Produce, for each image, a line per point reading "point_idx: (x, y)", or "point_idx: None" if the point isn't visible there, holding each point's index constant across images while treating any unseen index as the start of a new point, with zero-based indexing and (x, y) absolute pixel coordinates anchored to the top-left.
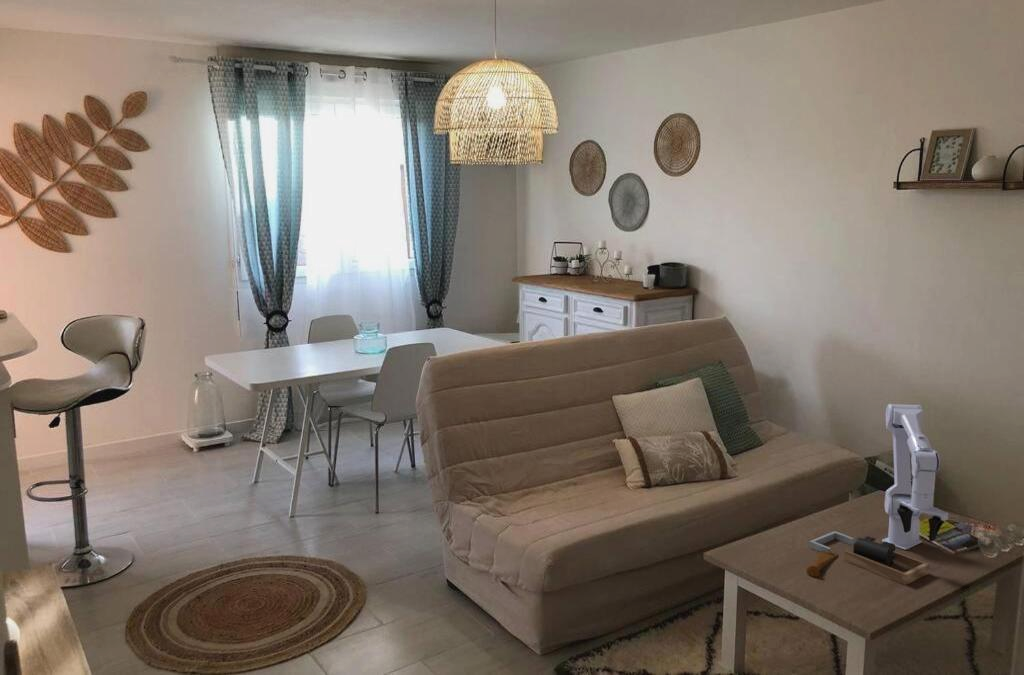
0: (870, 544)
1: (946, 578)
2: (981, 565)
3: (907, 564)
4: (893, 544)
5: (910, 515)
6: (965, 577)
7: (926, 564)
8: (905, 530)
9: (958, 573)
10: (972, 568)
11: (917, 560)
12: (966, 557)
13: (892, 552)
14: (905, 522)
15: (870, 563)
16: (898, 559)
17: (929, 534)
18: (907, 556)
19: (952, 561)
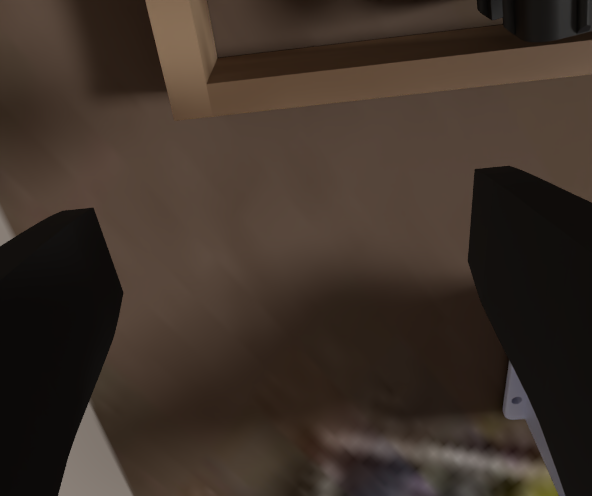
0: None
1: (76, 136)
2: (145, 426)
3: (358, 47)
4: (553, 27)
5: (586, 476)
6: None
7: (176, 85)
8: (496, 174)
9: None
10: (134, 371)
11: (276, 87)
12: (249, 440)
13: (532, 44)
14: (565, 248)
15: None
16: (450, 39)
17: (32, 250)
18: (383, 82)
19: (251, 359)
